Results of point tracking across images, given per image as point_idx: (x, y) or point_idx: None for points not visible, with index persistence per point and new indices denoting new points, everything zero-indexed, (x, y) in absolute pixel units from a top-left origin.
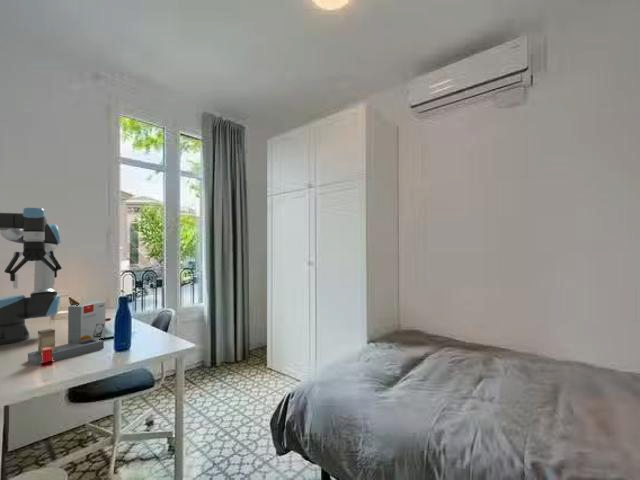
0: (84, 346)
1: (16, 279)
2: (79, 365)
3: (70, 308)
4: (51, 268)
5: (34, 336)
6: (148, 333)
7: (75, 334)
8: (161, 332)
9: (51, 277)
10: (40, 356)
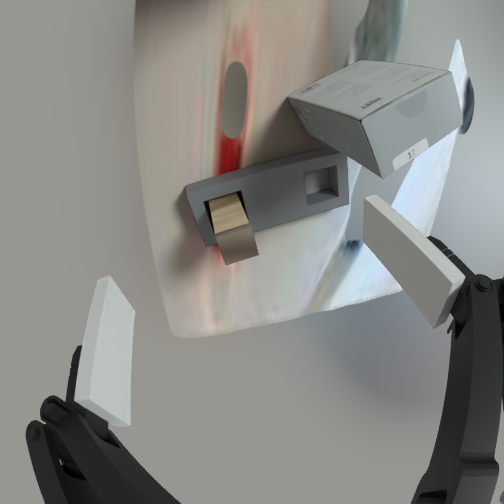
0: (306, 215)
1: (124, 378)
2: (269, 282)
3: (359, 131)
4: (457, 342)
5: None
6: (436, 149)
7: (316, 128)
8: (447, 165)
9: (403, 261)
10: (212, 244)
